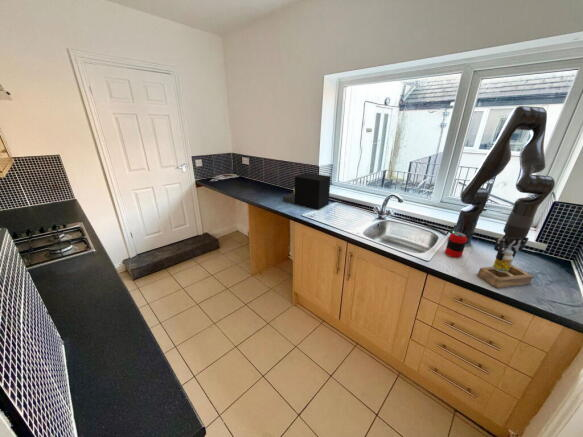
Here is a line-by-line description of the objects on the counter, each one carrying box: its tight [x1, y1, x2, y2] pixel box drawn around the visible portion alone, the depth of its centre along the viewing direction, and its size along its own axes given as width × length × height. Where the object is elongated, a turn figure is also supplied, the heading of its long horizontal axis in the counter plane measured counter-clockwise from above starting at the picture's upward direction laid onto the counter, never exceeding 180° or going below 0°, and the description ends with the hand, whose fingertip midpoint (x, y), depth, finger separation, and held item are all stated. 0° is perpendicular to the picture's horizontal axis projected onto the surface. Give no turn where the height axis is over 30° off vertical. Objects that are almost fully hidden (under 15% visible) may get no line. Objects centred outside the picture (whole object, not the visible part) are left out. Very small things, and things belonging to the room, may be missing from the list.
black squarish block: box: [282, 172, 332, 211], centre depth 202 cm, size 18×35×24 cm, turn 55°
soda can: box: [444, 232, 467, 259], centre depth 128 cm, size 8×8×12 cm
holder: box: [477, 263, 534, 289], centre depth 110 cm, size 10×17×4 cm, turn 100°
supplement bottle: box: [492, 247, 514, 273], centre depth 106 cm, size 5×5×10 cm
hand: (504, 258), depth 106 cm, fingers closed on supplement bottle, 5 cm apart
